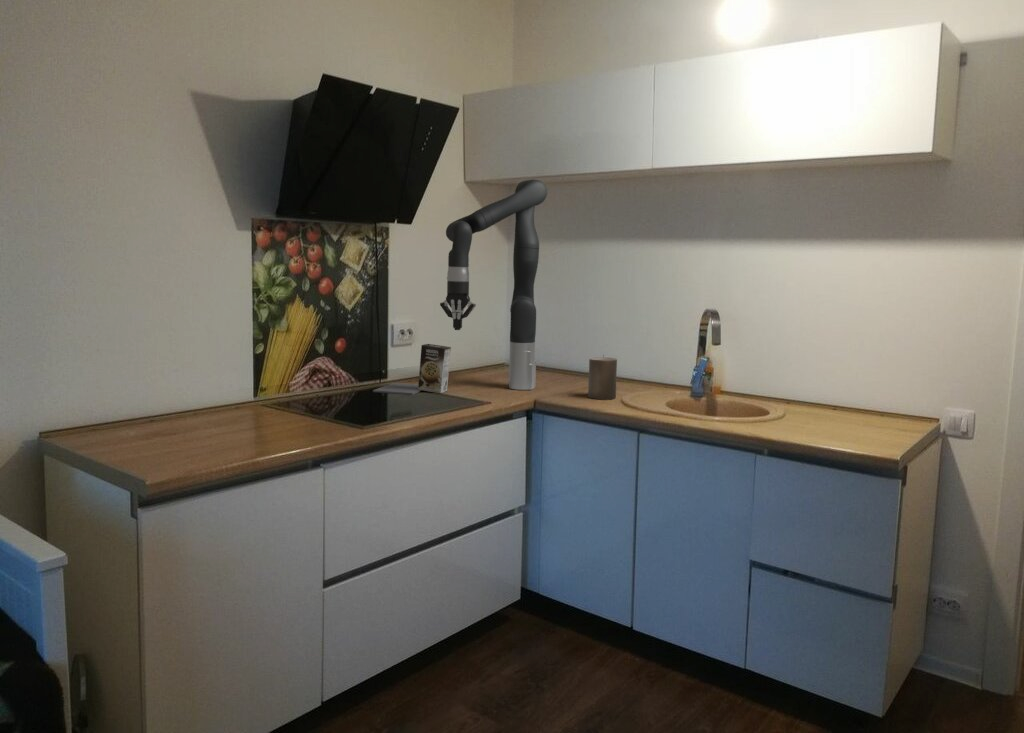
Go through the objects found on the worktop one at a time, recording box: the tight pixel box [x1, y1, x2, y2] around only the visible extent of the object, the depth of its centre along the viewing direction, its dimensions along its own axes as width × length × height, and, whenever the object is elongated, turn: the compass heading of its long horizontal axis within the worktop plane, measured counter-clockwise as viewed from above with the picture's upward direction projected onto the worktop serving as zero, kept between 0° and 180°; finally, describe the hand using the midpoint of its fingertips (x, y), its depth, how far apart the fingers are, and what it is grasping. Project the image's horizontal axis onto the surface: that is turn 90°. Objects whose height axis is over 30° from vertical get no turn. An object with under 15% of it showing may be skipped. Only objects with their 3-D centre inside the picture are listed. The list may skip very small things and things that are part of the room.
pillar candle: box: [587, 354, 618, 401], centre depth 263 cm, size 10×10×15 cm
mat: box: [372, 382, 424, 396], centre depth 272 cm, size 15×18×1 cm
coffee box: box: [417, 343, 452, 394], centre depth 268 cm, size 9×6×16 cm
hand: (457, 329), depth 264 cm, fingers closed
